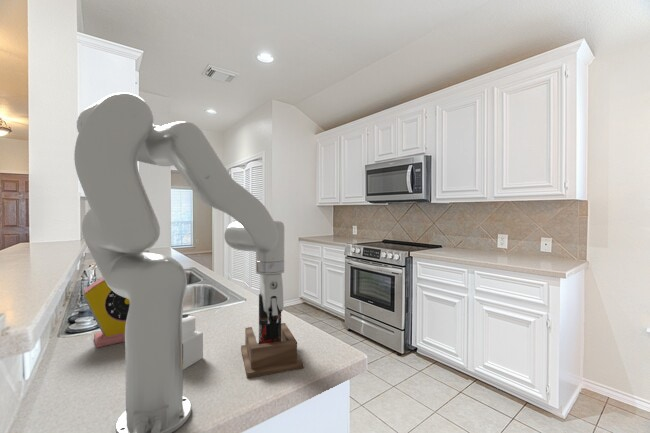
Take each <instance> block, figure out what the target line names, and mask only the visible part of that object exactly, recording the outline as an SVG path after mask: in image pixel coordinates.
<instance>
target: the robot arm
mask: <svg viewBox="0 0 650 433" xmlns="http://www.w3.org/2000/svg"><path fill="white" fill-rule="evenodd" d="M76 129H77V133H78V134H77V137H76V141H75V146H74V159H73V160H74V166H75V167H74V168H75V170H76V171H75V172H76V174H77V175H76V176H77V178H78V181H79V184H80V186H81V189H82V191H83V193H84V196H85V199H86V201H87V203H88V205H89V208H90V209H89V210H88V211H86V213H85V215H84V217H83V219H82V223H81V229H82V236H83V239H84V242H85V245H86V246H87V249H88V250H89V252H90V254H91V256H92V258H93V260H94V262H95V264H96V266H97V267H98V270H99V272H100V274H101V276H102V277H103V278H104V280H105V282H106V283H107V285H108V286H109V288H110V289H111V290H112V291H113V292H114V293H116V294H118V295H119V296H122V297H124V298H126V299H129V300H130V306H129V311H128V315H127V319H126V326H125V342H124V349H125V351H124V360H125V362H124V363H125V364H124V366H125V368H124V369H125V370H124V371H125V376H124V377H125V411H124V412H123V413H122V414H121V415H120V416H119V418H118V419H117V421H116V423H115V433H174V432H176V431H177V430H179V428H181V427H182V426H183V425H184V424H185V423H186V422H187V421H188V420H189V417H191V416H190V415H191V414H192V403H191V401H190V399H189V398H188V397H185V395H183V394H184V392H183V389H184V388H183V387H184V386H183V384H184V383H183V381H184V380H183V374H184V373H183V370H182V315H184V314H183V311H184V302H185V298H186V297H185V296H186V293H187V286H188V285H187V284H188V278H187V277H188V276H187V273H186V270H185V268H184V267H183V265H182V264H181V263H180V262H179V261H177V260H176V259H175V258H173V257H170V256H168V255H165V254H160V253H154V252H150V249H151V248H152V247H154V246H155V245H156V243H157V242H158V240H159V238H160V234H161V228H160V224H159V220H158V217H157V215H156V213H155V210H154V208H153V206H152V203H151V201H150V199H149V196H148V194H147V191H146V189H145V187H144V186H145V185H143V182H142V178H141V176H140V172H139V171H140V170H139V167H138V162H140V163H145V164H148V165H154V166H158V167H172V166H174V167H175V169H176V170H177V172H178V173H179V174H180V176H182V178H183V179H184V181H185V183H187V185H188V186H189V187H190V189H191V191H192V192H193V193H194V194H195V196H196V197H197V199H199V201H201V202H202V203H203V204H206V205H207V206H209V207H211V208H212V209H216V210H218V211H220V212H223V213H224V214H226V215H228V216H230V217H231V218H233V219H234V220H235V221H233V222H232V223H230V224H228V226H227V227H226V229H225V231H224V234H223V235H224V240H225V243H226V244H227V245H228V246H229V247H230V248H231V249H234V250H237V251H243V252H253V253H255V273H256V274H258V275H259V294H261V296H262V301H263V308H264V311H265V312H266V313H267V323H266V339H274V338H278V337H279V322H278V309H279V311H281V312H283V311H284V308H285V307H284V286H283V285H284V284H283V275H282V274H284V273H285V224H284V222H283V221H281V220H274V219H273V216H272V215H271V214H270V213H269V211H268V209H267V208H266V206H265V205H264V203H262V202H261V201H260V200H259V199H258V198H257V197H256V196H255V195H253V194H252V193H251V192H250V191H249V190H247V189H246V188H245V187H244V186H242V185H241V184H240V183H238V182H236V181H235V180H234V179H233V178H232V175H230V173H229V172H228V170H227V168H226V167H225V165H224V164H223V163H222V160H221V159H220V158H219V156H218V155H217V153H216V151H215V150H214V148H213V146H212V145H211V143H210V142H209V140H208V139H207V137H206V136H205V134H204V132H203V131H202V130H201V128H199V126H198V125H196V124H195V123H193V122H189V121H185V120H184V121H181V120H180V121H175V122H171V123H168V124H164V125H162V126H160V125H155V124H154V116H153V112H152V110H151V107H150V106H149V104H148V103H147V102H146V101H145V100H144V99H143V98H142V97H140V96H138V95H136V94H133V93H130V92H116V93H112V94H109V95H107V96H105V97H103V98H101V99H100V100H98V101H97V102H95V103H93V104H92V105H90V106H87V108H85V109H83V110H82V112H80V114H79V116H78V117H77V120H76ZM277 306H278V307H277ZM269 309H272V311H269ZM269 314H272V315H271V316H269Z"/></svg>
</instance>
